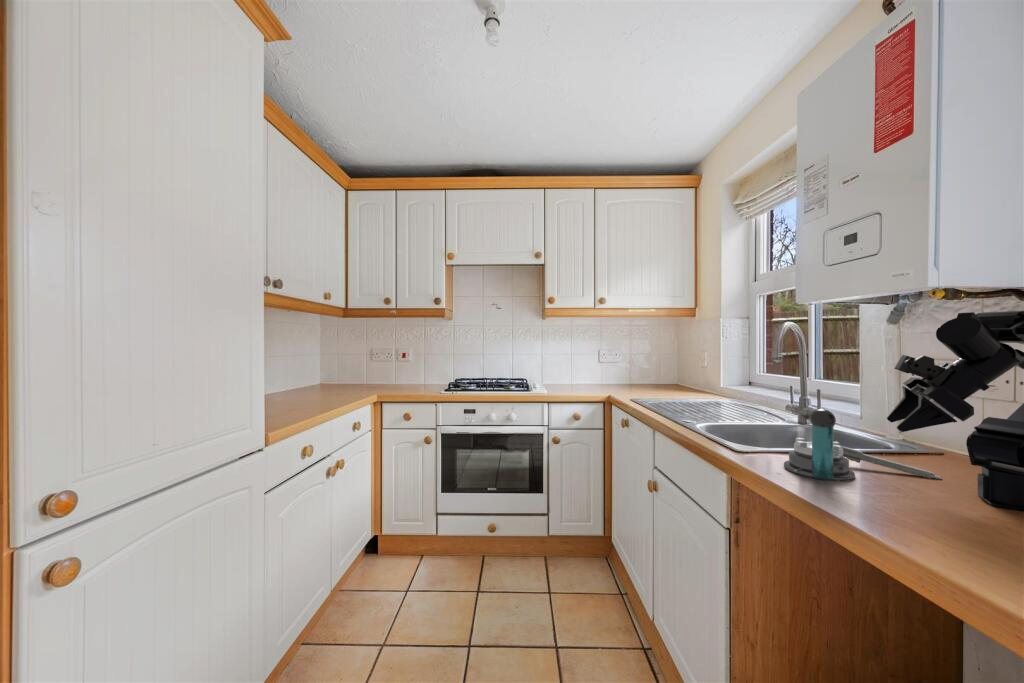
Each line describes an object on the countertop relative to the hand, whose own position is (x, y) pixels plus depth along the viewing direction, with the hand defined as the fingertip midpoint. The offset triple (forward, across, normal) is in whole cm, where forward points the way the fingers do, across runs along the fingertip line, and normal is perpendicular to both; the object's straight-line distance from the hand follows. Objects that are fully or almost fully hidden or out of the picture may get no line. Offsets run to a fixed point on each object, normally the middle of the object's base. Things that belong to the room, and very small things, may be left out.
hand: (893, 425), depth 80 cm
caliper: (+10, -16, +10) cm, 22 cm away
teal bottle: (+17, -4, 0) cm, 17 cm away
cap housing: (+18, -7, +1) cm, 19 cm away
